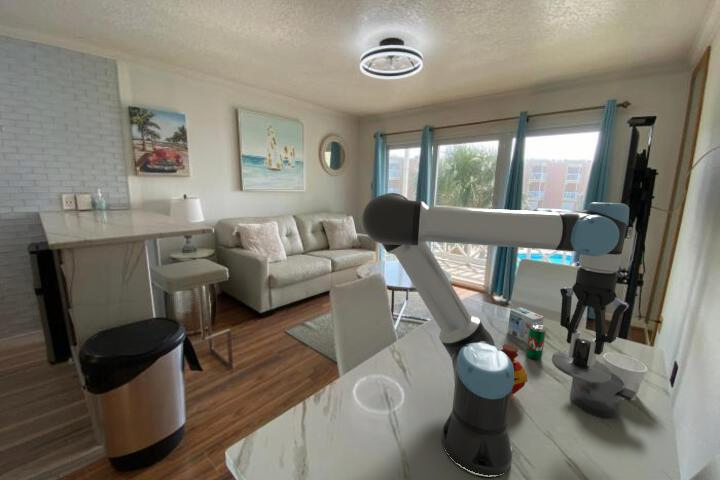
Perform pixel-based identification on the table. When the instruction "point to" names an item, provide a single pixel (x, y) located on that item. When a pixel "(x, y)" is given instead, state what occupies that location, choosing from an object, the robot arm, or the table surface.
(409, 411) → the table surface
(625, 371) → the cup
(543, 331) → the soda can
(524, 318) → the light bulb box
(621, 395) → the pot
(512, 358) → the potion bottle
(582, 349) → the lid
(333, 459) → the table surface
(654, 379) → the table surface
